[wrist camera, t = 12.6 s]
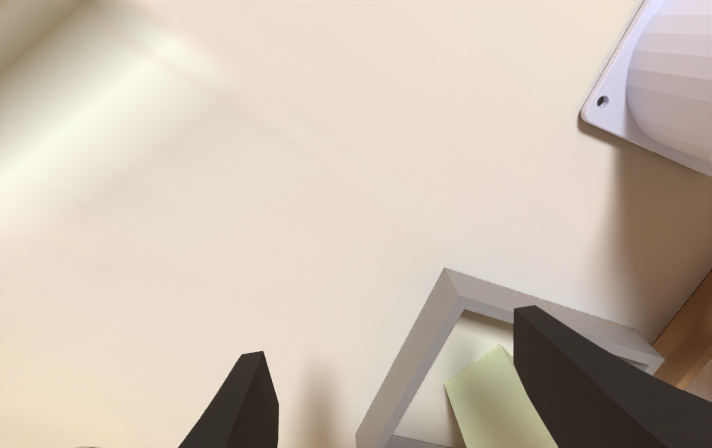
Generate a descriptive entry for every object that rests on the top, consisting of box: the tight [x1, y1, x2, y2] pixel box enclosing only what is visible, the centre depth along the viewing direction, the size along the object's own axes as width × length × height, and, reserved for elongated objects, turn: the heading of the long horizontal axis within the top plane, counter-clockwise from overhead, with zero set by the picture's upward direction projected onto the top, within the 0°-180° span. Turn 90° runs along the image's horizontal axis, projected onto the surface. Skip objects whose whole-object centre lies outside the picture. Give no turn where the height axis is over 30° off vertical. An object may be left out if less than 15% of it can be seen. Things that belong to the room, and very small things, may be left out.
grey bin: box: [356, 268, 665, 448], centre depth 25 cm, size 12×12×2 cm
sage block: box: [444, 344, 558, 448], centre depth 24 cm, size 4×4×6 cm
